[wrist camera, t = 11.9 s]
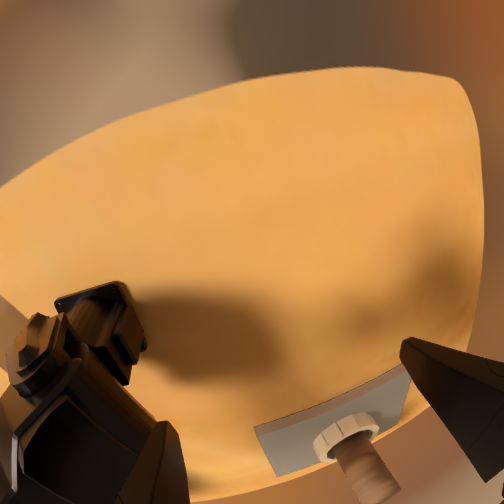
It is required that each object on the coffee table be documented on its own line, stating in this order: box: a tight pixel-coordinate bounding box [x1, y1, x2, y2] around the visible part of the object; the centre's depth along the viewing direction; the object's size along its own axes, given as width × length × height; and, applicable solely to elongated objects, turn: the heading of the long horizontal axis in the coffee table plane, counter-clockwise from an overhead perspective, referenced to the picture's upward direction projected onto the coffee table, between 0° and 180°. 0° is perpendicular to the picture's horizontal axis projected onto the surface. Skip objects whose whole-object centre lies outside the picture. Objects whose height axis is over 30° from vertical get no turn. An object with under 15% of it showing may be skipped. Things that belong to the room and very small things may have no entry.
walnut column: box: [331, 431, 401, 504], centre depth 24 cm, size 5×5×13 cm
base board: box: [254, 364, 412, 477], centre depth 30 cm, size 22×16×4 cm
